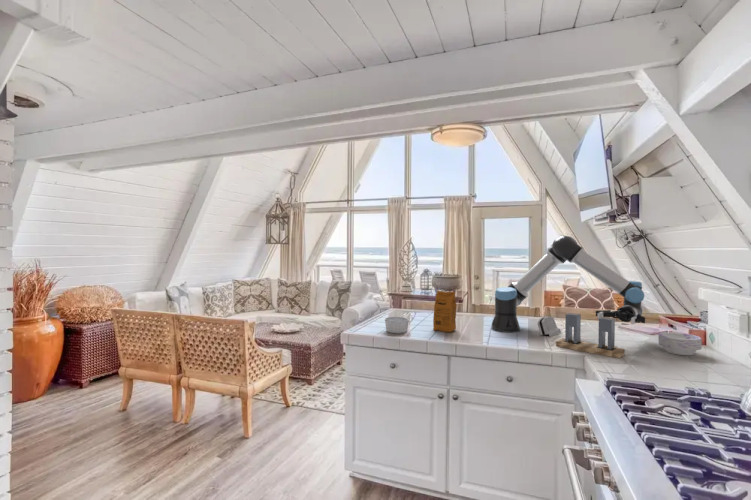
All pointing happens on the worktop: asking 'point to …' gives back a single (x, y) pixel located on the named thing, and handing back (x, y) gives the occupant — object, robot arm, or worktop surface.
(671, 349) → the paper bowls
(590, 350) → the oak rail
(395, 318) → the ramekin
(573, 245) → the robot arm
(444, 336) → the worktop surface
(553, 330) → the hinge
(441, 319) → the coffee package
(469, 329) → the worktop surface
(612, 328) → the steel clip
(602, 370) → the worktop surface
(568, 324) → the seated clip
